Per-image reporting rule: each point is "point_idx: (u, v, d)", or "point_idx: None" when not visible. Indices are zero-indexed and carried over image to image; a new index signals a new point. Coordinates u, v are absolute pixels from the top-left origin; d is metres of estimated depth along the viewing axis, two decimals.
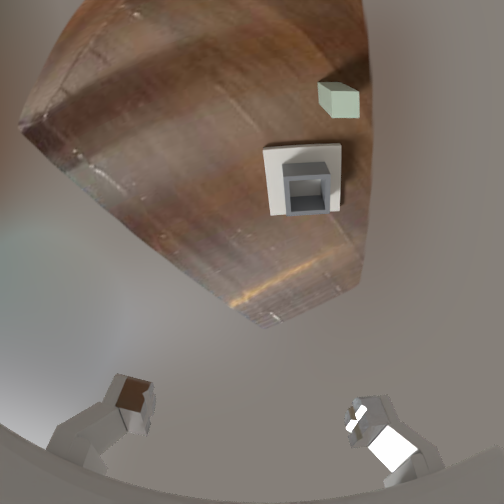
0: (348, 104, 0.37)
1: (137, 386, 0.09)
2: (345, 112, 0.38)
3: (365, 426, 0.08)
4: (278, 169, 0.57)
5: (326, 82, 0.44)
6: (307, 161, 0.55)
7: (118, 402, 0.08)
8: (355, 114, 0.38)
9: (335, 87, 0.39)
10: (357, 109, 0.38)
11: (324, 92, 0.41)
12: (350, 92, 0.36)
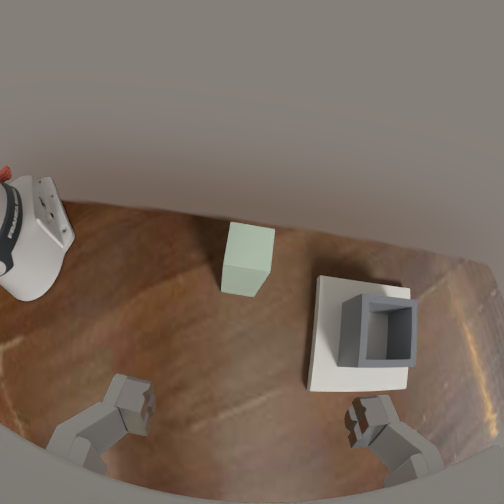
0: (249, 241, 0.28)
1: (137, 386, 0.09)
2: (263, 248, 0.28)
3: (365, 426, 0.08)
4: (344, 372, 0.34)
5: None
6: (339, 328, 0.36)
7: (118, 402, 0.08)
8: (268, 234, 0.28)
9: None
10: (260, 229, 0.28)
11: (231, 281, 0.32)
12: (230, 234, 0.28)
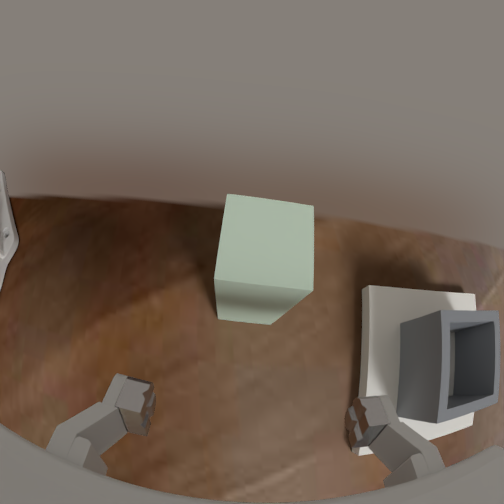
0: (267, 229, 0.14)
1: (137, 386, 0.09)
2: (295, 242, 0.13)
3: (365, 426, 0.08)
4: (404, 422, 0.20)
5: None
6: (397, 361, 0.22)
7: (118, 402, 0.08)
8: (302, 215, 0.14)
9: None
10: (286, 207, 0.14)
11: (234, 306, 0.18)
12: (227, 218, 0.14)
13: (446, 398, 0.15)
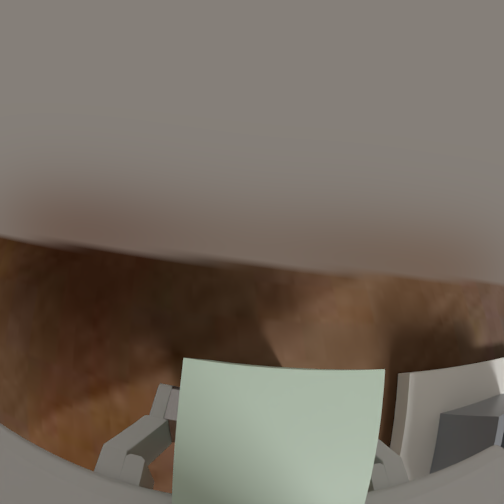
0: (280, 445, 0.05)
1: None
2: (338, 462, 0.05)
3: None
4: None
5: None
6: (431, 457, 0.13)
7: (167, 414, 0.08)
8: (361, 397, 0.05)
9: None
10: (328, 384, 0.05)
11: None
12: (186, 423, 0.05)
13: None
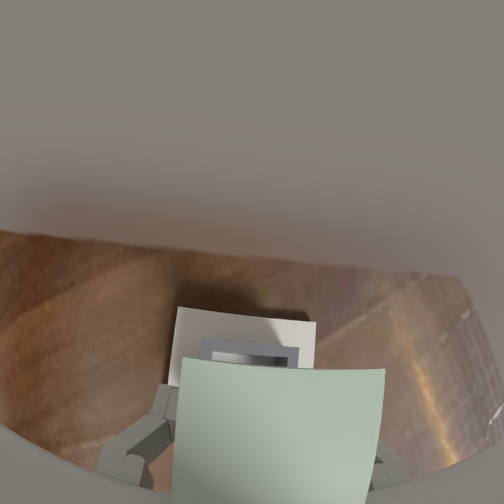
0: (279, 445, 0.05)
1: None
2: (338, 462, 0.05)
3: None
4: None
5: None
6: None
7: (167, 414, 0.08)
8: (361, 397, 0.05)
9: None
10: (328, 384, 0.05)
11: None
12: (186, 423, 0.05)
13: None
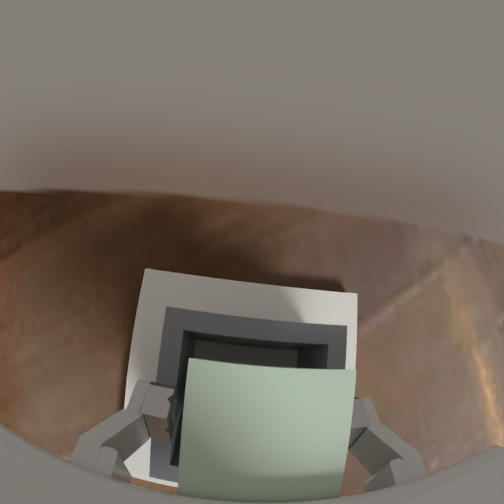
0: (266, 430, 0.06)
1: (161, 391, 0.09)
2: (316, 447, 0.06)
3: None
4: None
5: None
6: None
7: (143, 408, 0.08)
8: (335, 392, 0.07)
9: None
10: (306, 380, 0.07)
11: None
12: (191, 411, 0.06)
13: (166, 448, 0.10)
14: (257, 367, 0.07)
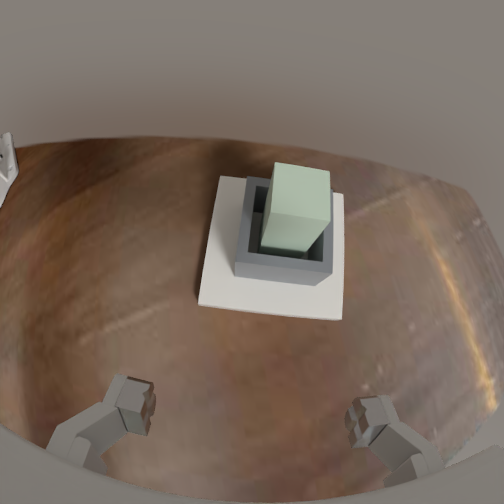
0: (301, 184, 0.21)
1: (137, 386, 0.09)
2: (318, 192, 0.21)
3: (365, 426, 0.08)
4: (244, 285, 0.31)
5: (258, 243, 0.31)
6: (238, 231, 0.32)
7: (118, 402, 0.08)
8: (322, 176, 0.21)
9: (266, 215, 0.25)
10: (312, 171, 0.22)
11: (275, 240, 0.25)
12: (276, 177, 0.21)
13: (246, 242, 0.26)
14: None
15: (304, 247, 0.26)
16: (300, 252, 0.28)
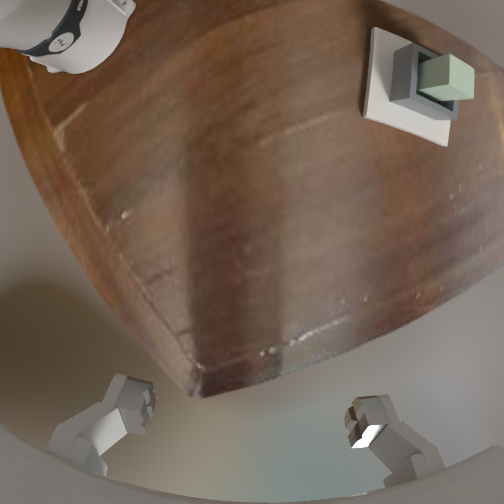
0: (461, 72, 0.21)
1: (137, 386, 0.09)
2: (469, 80, 0.21)
3: (365, 426, 0.08)
4: (395, 109, 0.34)
5: None
6: (391, 70, 0.31)
7: (118, 402, 0.08)
8: (471, 71, 0.20)
9: (431, 76, 0.25)
10: (466, 66, 0.20)
11: (431, 91, 0.27)
12: (450, 63, 0.20)
13: (415, 87, 0.27)
14: None
15: (443, 99, 0.28)
16: (437, 100, 0.29)
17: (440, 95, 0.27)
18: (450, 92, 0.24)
